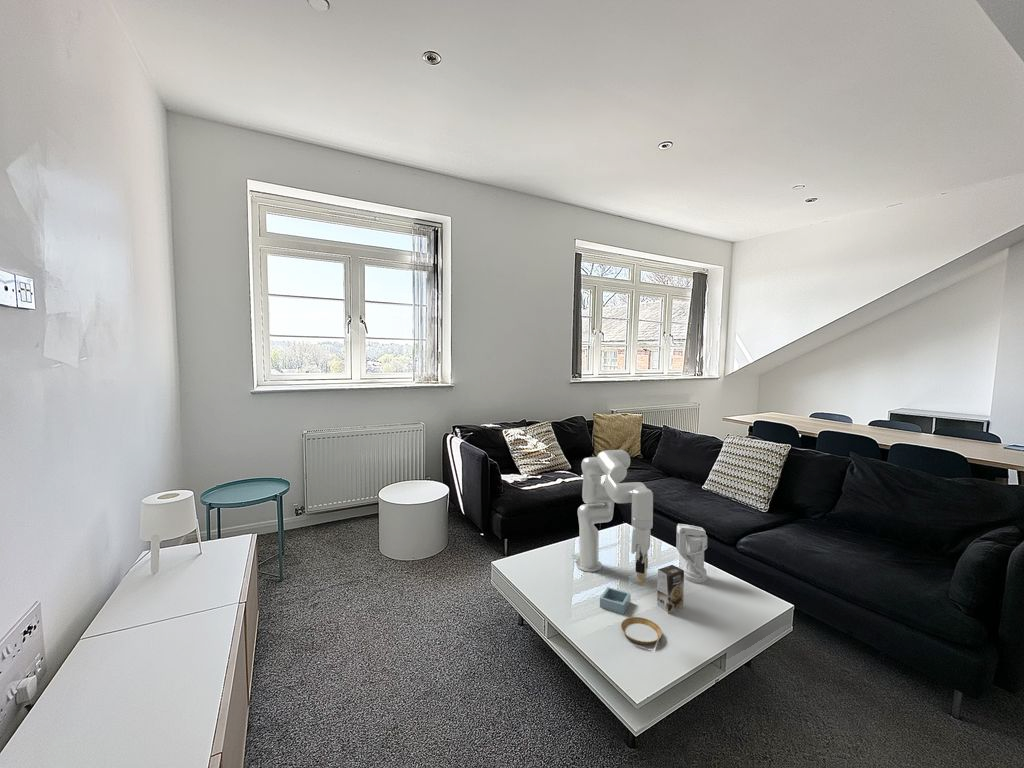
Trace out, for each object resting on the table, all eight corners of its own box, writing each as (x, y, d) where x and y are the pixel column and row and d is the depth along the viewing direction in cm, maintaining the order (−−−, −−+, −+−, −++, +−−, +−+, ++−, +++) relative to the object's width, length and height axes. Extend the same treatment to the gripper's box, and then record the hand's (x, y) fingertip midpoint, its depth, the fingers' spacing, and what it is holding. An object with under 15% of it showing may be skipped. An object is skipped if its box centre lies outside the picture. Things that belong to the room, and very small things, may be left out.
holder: (599, 608, 173) (599, 598, 173) (607, 596, 182) (607, 586, 182) (623, 616, 168) (623, 605, 168) (630, 603, 177) (630, 593, 176)
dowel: (635, 583, 155) (635, 552, 154) (637, 579, 158) (638, 548, 158) (645, 586, 153) (645, 554, 153) (647, 581, 156) (647, 550, 156)
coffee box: (668, 614, 169) (669, 575, 168) (656, 606, 175) (656, 568, 174) (684, 608, 173) (684, 570, 172) (671, 600, 179) (672, 563, 178)
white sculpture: (702, 572, 202) (703, 522, 200) (709, 584, 191) (710, 531, 190) (674, 571, 203) (675, 521, 202) (680, 582, 193) (681, 530, 192)
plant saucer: (634, 618, 167) (634, 612, 167) (669, 636, 156) (669, 629, 156) (613, 634, 157) (613, 627, 157) (648, 654, 146) (648, 647, 146)
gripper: (637, 513, 163) (637, 558, 164) (625, 527, 149) (625, 577, 150) (657, 516, 160) (656, 563, 161) (646, 531, 145) (646, 582, 146)
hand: (641, 569), depth 155 cm, fingers closed on dowel, 3 cm apart
